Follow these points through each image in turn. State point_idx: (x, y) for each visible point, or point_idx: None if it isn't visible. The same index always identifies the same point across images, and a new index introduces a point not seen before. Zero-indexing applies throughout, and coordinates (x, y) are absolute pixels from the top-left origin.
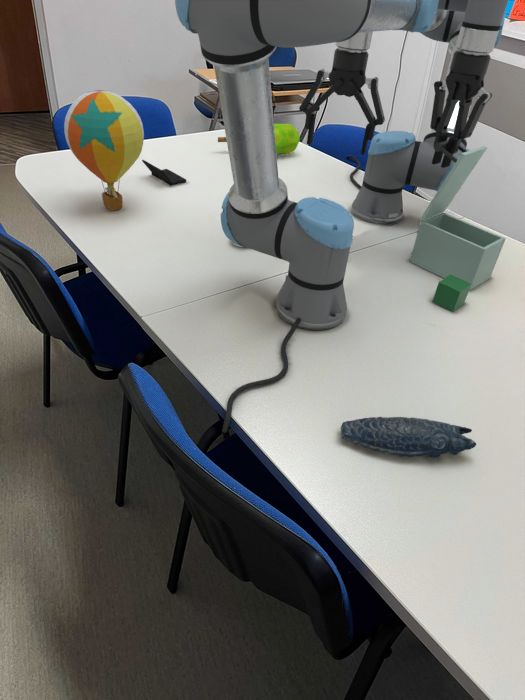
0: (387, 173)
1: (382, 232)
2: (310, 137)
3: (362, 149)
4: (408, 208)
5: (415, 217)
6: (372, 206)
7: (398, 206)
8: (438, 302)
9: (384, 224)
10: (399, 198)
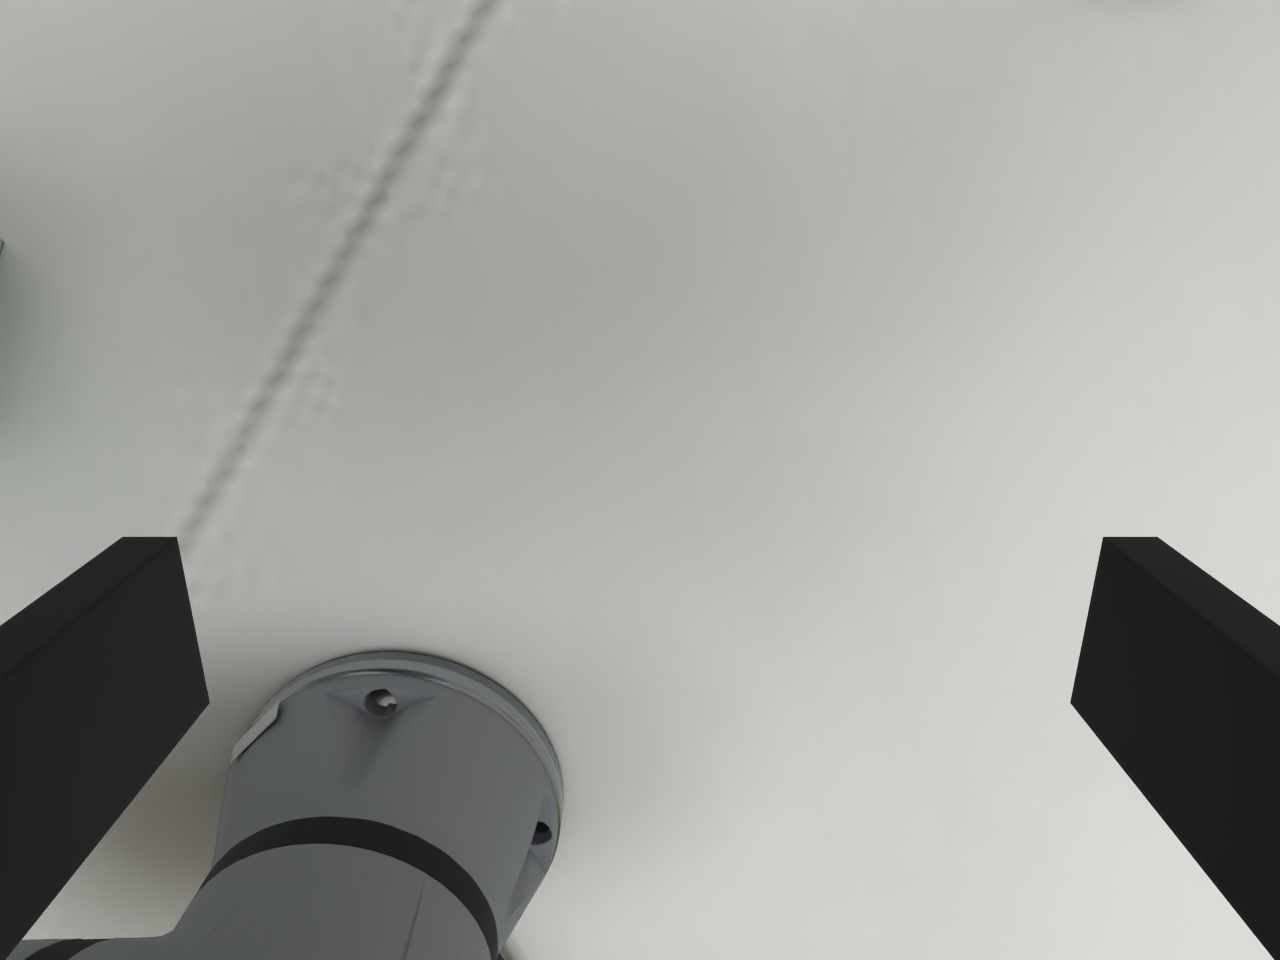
0: (233, 949)
1: (293, 568)
2: (1174, 596)
3: (114, 576)
4: None
5: (182, 851)
6: (387, 738)
7: (224, 807)
8: None
9: (311, 669)
10: (213, 859)
